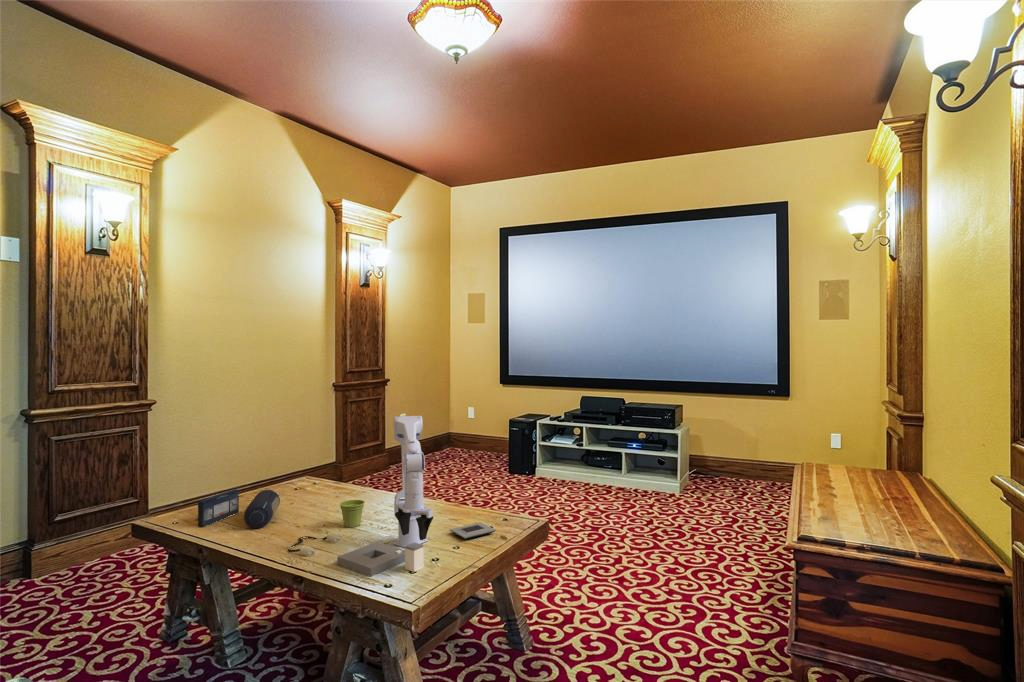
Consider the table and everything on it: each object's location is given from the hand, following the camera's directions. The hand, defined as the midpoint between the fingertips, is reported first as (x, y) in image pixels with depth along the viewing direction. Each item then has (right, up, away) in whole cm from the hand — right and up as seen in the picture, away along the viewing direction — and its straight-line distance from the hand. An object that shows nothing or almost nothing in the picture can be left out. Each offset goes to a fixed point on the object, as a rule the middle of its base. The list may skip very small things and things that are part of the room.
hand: (414, 536), depth 175 cm
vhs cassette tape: (-86, -11, +49) cm, 99 cm away
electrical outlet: (+16, -10, +31) cm, 36 cm away
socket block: (-14, -10, +5) cm, 17 cm away
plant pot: (-31, -10, +41) cm, 52 cm away
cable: (-39, -11, +19) cm, 45 cm away
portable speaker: (-68, -10, +48) cm, 84 cm away
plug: (0, -10, 0) cm, 10 cm away
